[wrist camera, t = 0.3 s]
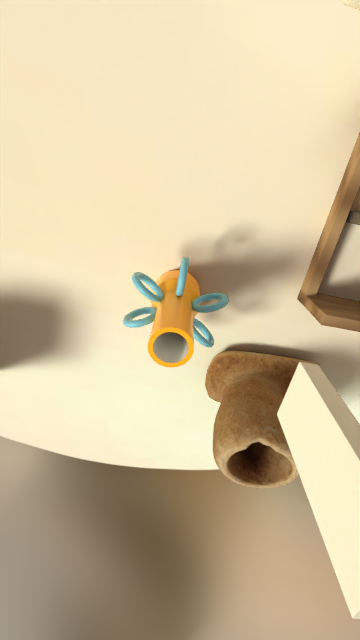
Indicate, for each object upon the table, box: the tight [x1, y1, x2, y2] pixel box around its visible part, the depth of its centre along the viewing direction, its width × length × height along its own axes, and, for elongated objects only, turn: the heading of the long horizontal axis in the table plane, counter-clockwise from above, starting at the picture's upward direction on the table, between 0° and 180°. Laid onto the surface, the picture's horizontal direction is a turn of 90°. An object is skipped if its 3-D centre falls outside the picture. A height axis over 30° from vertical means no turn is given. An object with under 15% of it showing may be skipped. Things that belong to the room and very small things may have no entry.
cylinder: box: [123, 257, 229, 367], centre depth 33 cm, size 12×10×15 cm
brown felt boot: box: [205, 351, 319, 488], centre depth 39 cm, size 15×12×15 cm
